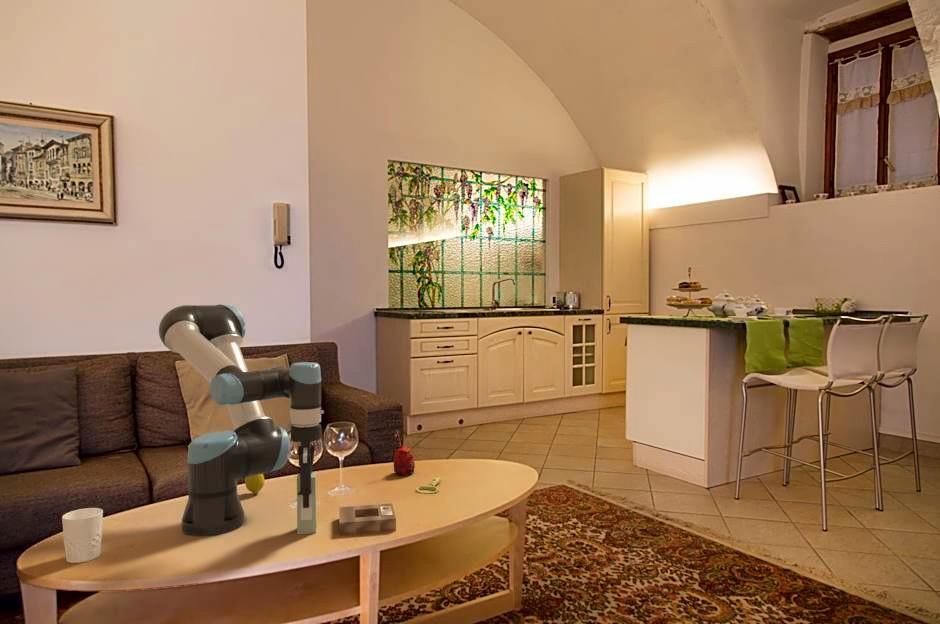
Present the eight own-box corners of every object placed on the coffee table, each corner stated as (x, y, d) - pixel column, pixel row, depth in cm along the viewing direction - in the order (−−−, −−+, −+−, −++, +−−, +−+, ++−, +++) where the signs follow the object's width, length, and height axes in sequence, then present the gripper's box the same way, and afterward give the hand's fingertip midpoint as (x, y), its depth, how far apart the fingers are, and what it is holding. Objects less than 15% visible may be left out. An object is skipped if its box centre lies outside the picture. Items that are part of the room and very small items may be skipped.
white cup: (54, 561, 139) (54, 516, 139) (88, 548, 146) (88, 506, 146) (78, 566, 136) (77, 521, 136) (111, 553, 143) (110, 510, 143)
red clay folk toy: (410, 477, 203) (410, 432, 203) (389, 476, 205) (389, 431, 205) (417, 471, 211) (416, 427, 210) (397, 470, 212) (397, 426, 212)
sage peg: (297, 534, 154) (296, 478, 154) (298, 527, 159) (298, 473, 158) (315, 532, 155) (315, 477, 155) (316, 526, 160) (316, 472, 159)
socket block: (339, 535, 154) (339, 521, 154) (339, 518, 165) (339, 505, 165) (396, 530, 156) (395, 517, 156) (392, 514, 168) (392, 502, 168)
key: (441, 483, 198) (441, 476, 198) (438, 495, 186) (438, 488, 186) (419, 483, 198) (419, 476, 198) (414, 495, 186) (414, 488, 186)
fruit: (248, 491, 189) (248, 465, 189) (266, 490, 190) (266, 464, 189) (242, 496, 184) (242, 470, 184) (261, 496, 184) (261, 469, 184)
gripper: (320, 430, 149) (321, 527, 149) (322, 417, 166) (323, 503, 166) (287, 432, 147) (288, 529, 147) (293, 418, 164) (294, 505, 165)
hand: (306, 515), depth 157 cm, fingers open, 4 cm apart
